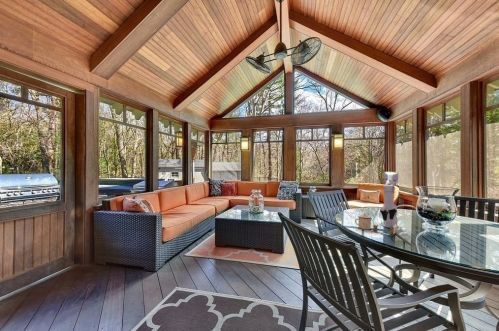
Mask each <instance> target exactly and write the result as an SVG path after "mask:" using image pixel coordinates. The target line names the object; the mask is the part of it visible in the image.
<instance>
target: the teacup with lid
mask: <svg viewBox="0 0 499 331" xmlns="http://www.w3.org/2000/svg"><path fill="white" fill-rule="evenodd" d="M357 220H358V223H357ZM371 222H372V216H370V215H368V214H367V213H366V212H363V213H362V214H359V215H358V218H355V220H354V223H355V224H356V225H357V226H358V228H359V229H362V230H371V229H372V228H371V227H372V223H371Z"/></svg>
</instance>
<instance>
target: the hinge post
mask: <svg viewBox="0 0 499 331" xmlns="http://www.w3.org/2000/svg"><path fill="white" fill-rule="evenodd" d="M393 232H394V227H393V226H391V227H390V228H389V234H390V235H389V236H390V237H394V234H393Z"/></svg>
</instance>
